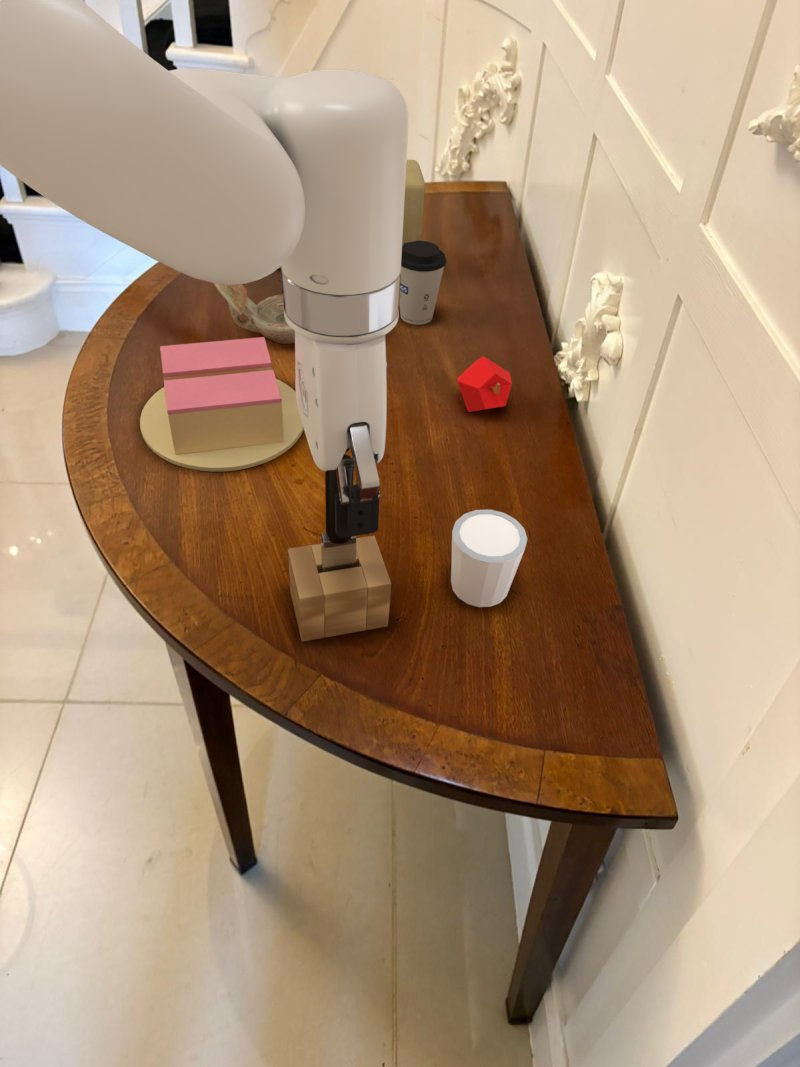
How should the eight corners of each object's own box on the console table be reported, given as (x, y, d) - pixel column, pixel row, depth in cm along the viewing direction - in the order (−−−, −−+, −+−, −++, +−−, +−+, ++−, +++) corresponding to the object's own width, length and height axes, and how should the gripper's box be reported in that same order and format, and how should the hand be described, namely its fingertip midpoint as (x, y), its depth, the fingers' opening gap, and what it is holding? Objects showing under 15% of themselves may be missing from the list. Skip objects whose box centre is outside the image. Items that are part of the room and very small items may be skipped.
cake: (144, 482, 84) (133, 433, 79) (137, 381, 96) (127, 334, 92) (320, 460, 88) (319, 412, 83) (291, 366, 101) (289, 320, 96)
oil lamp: (215, 316, 108) (207, 246, 101) (370, 319, 110) (373, 251, 103) (209, 351, 102) (199, 279, 95) (373, 353, 104) (375, 283, 97)
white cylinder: (515, 563, 79) (527, 512, 74) (515, 616, 74) (528, 565, 69) (446, 555, 79) (454, 504, 74) (442, 607, 74) (450, 557, 69)
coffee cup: (442, 306, 114) (449, 239, 107) (439, 331, 109) (446, 263, 102) (394, 301, 114) (398, 234, 107) (389, 326, 109) (393, 257, 102)
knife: (324, 621, 72) (323, 473, 59) (320, 602, 73) (317, 455, 61) (356, 615, 73) (361, 468, 60) (351, 597, 74) (355, 450, 62)
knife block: (301, 642, 70) (299, 598, 66) (290, 592, 74) (287, 548, 70) (388, 626, 72) (391, 583, 68) (372, 578, 76) (374, 535, 72)
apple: (449, 348, 96) (476, 361, 89) (499, 352, 98) (528, 365, 91) (441, 403, 99) (465, 420, 92) (489, 406, 101) (517, 423, 94)
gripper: (263, 238, 56) (278, 430, 68) (308, 375, 44) (317, 577, 56) (366, 230, 57) (363, 420, 69) (436, 361, 46) (418, 560, 58)
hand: (342, 490), depth 63 cm, fingers open, 9 cm apart
